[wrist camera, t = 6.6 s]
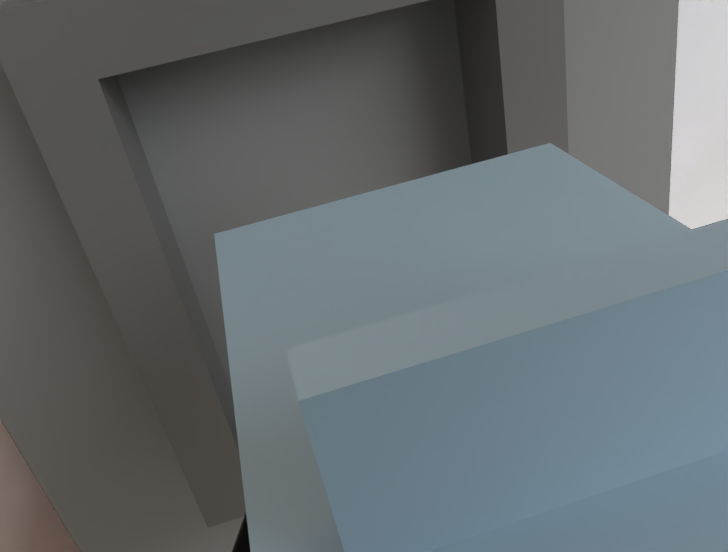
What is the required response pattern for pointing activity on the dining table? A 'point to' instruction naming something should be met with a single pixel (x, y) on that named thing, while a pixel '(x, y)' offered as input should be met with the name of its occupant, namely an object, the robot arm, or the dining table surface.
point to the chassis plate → (249, 197)
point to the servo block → (481, 367)
